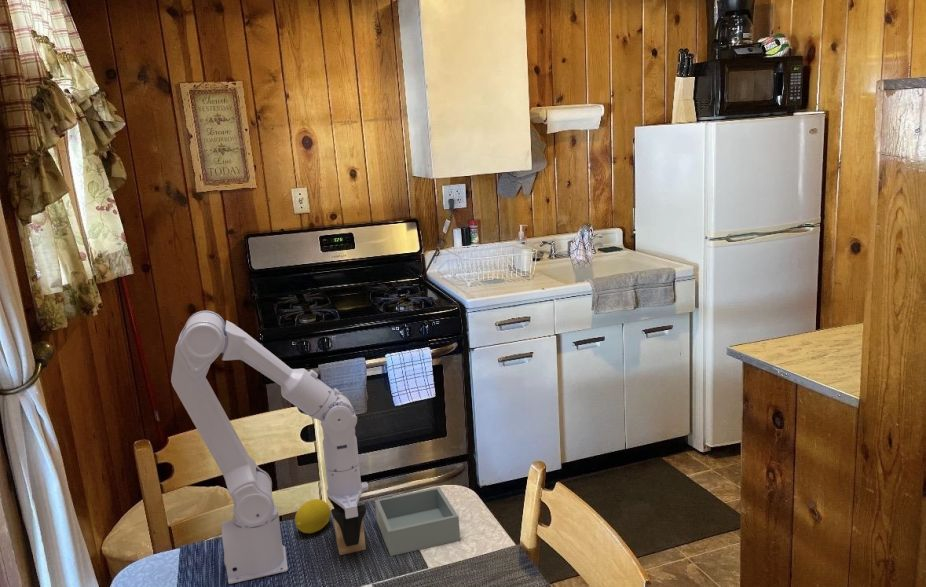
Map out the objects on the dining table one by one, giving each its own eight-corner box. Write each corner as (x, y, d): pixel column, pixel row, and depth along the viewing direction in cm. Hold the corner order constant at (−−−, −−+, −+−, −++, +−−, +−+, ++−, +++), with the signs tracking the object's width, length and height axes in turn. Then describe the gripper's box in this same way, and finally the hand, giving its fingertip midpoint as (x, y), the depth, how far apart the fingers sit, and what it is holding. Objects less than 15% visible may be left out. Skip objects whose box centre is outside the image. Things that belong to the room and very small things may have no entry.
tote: (390, 556, 120) (388, 531, 119) (377, 522, 131) (374, 499, 131) (460, 540, 123) (458, 516, 122) (441, 508, 135) (439, 486, 134)
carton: (339, 555, 121) (336, 522, 120) (336, 542, 125) (332, 511, 124) (365, 549, 122) (362, 517, 121) (361, 536, 127) (358, 505, 126)
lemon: (331, 489, 132) (301, 508, 125) (343, 517, 132) (313, 537, 125) (312, 495, 135) (282, 514, 128) (324, 522, 135) (294, 543, 128)
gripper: (372, 477, 115) (380, 553, 118) (358, 445, 129) (365, 513, 132) (329, 485, 113) (337, 562, 116) (319, 452, 127) (327, 521, 130)
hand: (350, 537), depth 124 cm, fingers closed on carton, 4 cm apart
